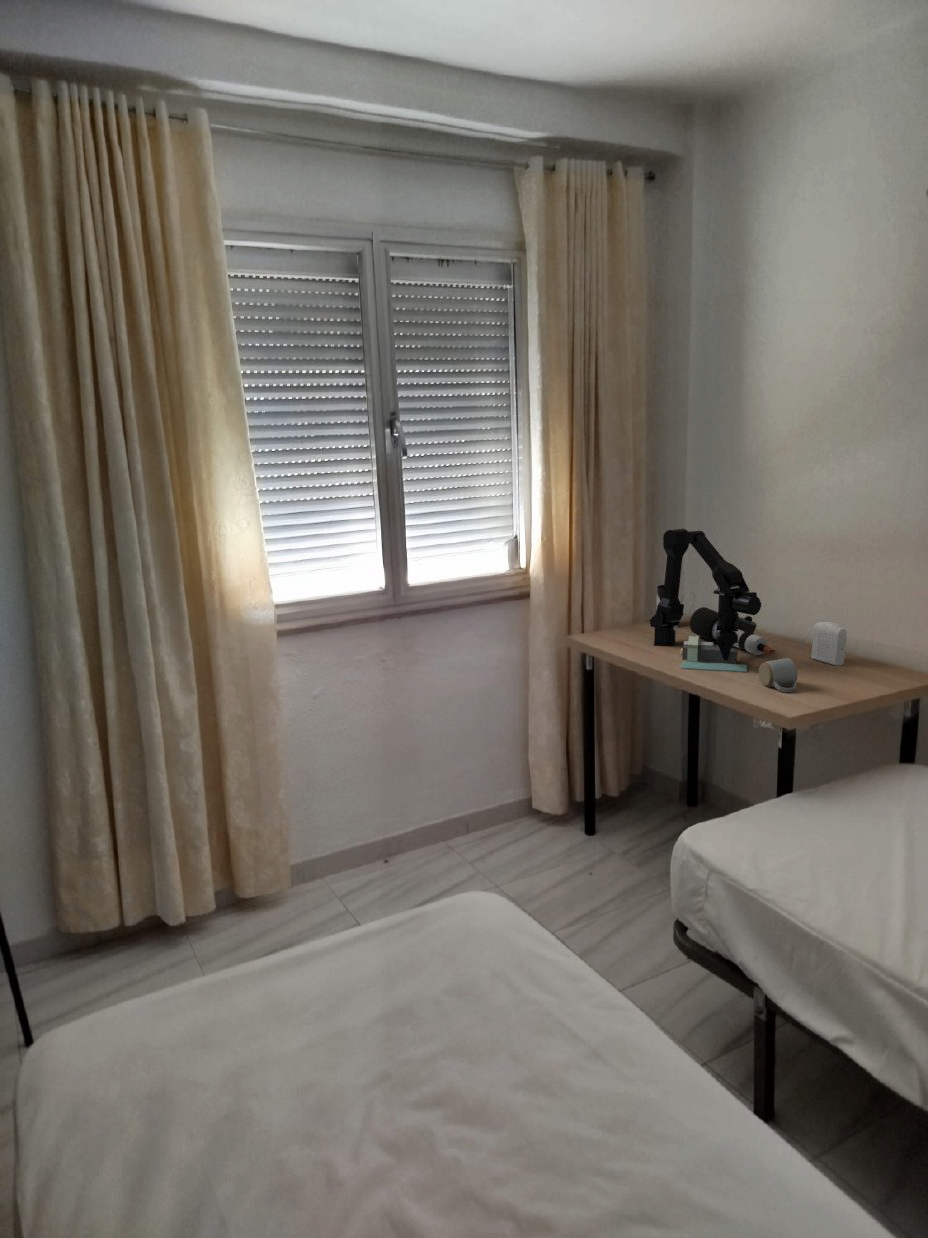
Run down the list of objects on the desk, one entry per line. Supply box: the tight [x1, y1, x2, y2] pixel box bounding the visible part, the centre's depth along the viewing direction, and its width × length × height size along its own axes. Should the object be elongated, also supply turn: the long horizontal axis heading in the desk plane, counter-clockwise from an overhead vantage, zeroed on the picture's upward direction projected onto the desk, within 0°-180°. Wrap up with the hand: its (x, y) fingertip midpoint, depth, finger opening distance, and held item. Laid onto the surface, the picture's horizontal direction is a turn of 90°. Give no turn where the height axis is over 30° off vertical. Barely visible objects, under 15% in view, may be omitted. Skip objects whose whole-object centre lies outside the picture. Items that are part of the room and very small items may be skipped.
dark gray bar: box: [680, 644, 740, 664], centre depth 251 cm, size 18×4×4 cm, turn 64°
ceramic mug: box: [758, 657, 798, 694], centre depth 222 cm, size 11×8×8 cm
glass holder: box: [655, 584, 696, 629], centre depth 296 cm, size 9×14×15 cm, turn 67°
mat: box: [680, 661, 748, 673], centre depth 243 cm, size 19×7×1 cm, turn 73°
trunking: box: [683, 640, 714, 647], centre depth 257 cm, size 9×4×4 cm, turn 73°
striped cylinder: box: [689, 606, 776, 656], centre depth 265 cm, size 10×34×10 cm, turn 24°
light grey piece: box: [686, 635, 700, 662], centre depth 255 cm, size 3×13×6 cm, turn 163°
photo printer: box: [811, 621, 847, 667], centre depth 245 cm, size 10×4×12 cm, turn 25°
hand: (725, 658), depth 249 cm, fingers closed on dark gray bar, 4 cm apart
